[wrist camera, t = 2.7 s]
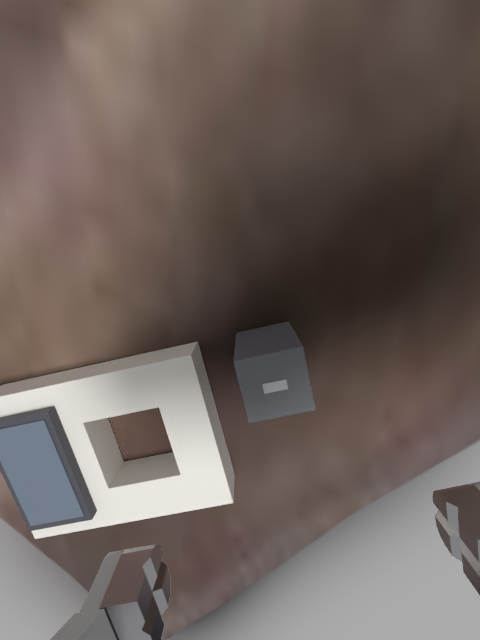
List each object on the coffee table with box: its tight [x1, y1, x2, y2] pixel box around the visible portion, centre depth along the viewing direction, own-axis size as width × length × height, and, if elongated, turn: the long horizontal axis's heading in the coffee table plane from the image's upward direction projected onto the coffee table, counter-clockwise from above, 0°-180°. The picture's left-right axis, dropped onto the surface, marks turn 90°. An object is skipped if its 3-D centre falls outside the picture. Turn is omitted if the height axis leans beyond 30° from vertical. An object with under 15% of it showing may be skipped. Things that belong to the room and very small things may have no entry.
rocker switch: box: [233, 321, 316, 423], centre depth 21 cm, size 4×4×6 cm
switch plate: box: [0, 342, 235, 539], centre depth 24 cm, size 16×12×4 cm
